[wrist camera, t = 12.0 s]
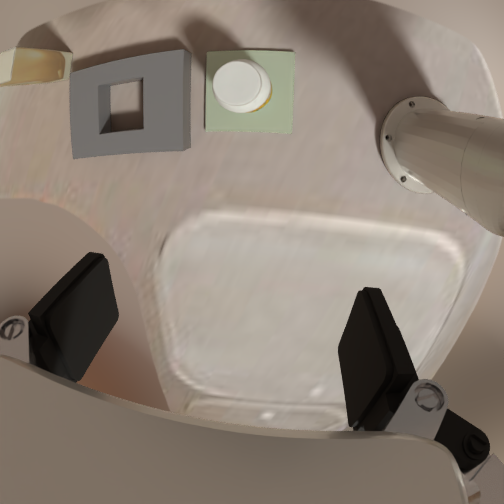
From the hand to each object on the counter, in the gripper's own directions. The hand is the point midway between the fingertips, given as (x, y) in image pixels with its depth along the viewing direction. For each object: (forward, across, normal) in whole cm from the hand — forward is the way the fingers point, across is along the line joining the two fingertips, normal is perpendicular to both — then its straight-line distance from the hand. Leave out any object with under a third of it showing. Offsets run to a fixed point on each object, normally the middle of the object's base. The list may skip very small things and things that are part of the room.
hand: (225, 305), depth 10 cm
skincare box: (+26, +31, -14) cm, 43 cm away
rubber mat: (+26, +2, -9) cm, 28 cm away
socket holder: (+26, +17, -7) cm, 32 cm away
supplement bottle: (+26, +3, -9) cm, 28 cm away
